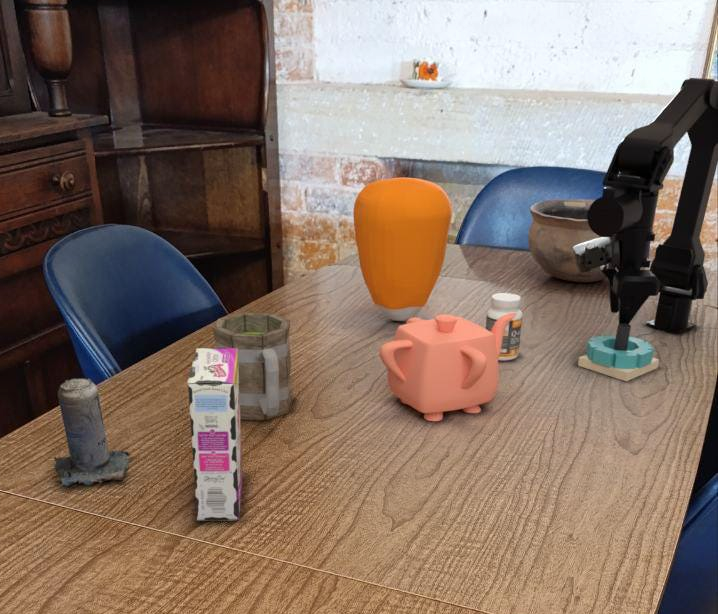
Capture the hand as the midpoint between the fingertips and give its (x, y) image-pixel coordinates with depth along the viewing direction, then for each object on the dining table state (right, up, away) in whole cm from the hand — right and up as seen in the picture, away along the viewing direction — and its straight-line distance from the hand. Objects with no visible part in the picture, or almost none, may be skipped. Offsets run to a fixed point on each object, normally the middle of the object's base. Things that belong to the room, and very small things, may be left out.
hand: (618, 319), depth 142 cm
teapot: (-30, -15, -16) cm, 37 cm away
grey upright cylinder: (-74, -25, -36) cm, 86 cm away
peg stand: (-1, -8, -2) cm, 8 cm away
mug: (-56, -17, -19) cm, 62 cm away
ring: (-1, -6, -2) cm, 7 cm away
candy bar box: (-58, -28, -41) cm, 77 cm away
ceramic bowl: (+4, +17, +46) cm, 49 cm away
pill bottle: (-19, -6, +2) cm, 20 cm away
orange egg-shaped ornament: (-35, +3, +18) cm, 39 cm away
